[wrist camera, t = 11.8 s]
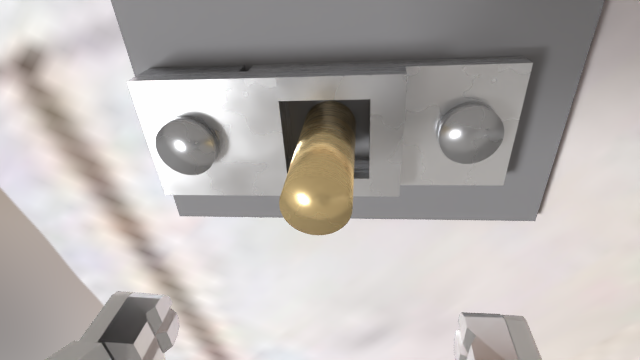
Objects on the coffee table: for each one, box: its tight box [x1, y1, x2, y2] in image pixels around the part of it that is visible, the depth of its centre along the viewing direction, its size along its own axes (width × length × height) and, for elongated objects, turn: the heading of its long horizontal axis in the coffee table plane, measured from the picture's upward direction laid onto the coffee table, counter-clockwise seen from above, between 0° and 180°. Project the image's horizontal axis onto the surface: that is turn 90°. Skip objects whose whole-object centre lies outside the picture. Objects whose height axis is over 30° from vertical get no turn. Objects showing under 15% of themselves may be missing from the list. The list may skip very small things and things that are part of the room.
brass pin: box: [279, 101, 356, 235], centre depth 19 cm, size 3×3×8 cm
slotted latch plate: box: [127, 56, 533, 197], centre depth 21 cm, size 20×7×3 cm, turn 94°
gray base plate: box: [111, 0, 605, 221], centre depth 21 cm, size 24×18×1 cm
